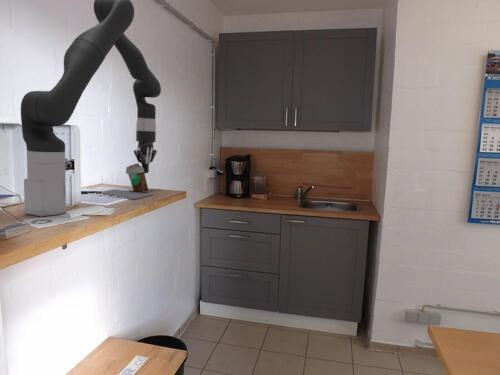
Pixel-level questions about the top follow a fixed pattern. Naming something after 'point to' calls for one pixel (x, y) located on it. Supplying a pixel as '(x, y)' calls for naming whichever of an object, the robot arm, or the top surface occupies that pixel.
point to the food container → (137, 178)
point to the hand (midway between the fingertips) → (145, 172)
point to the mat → (125, 194)
